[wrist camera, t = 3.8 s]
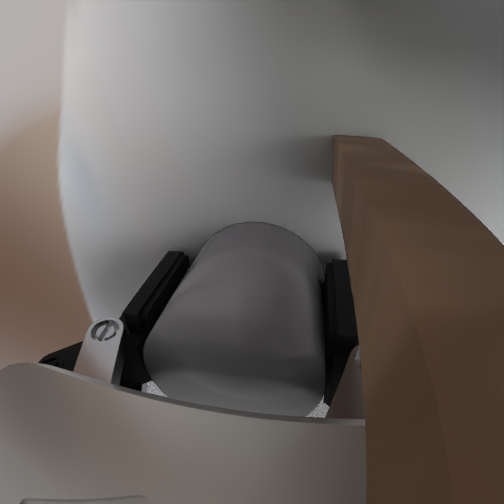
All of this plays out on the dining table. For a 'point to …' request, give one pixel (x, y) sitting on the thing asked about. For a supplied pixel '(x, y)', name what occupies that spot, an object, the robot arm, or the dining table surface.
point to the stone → (245, 325)
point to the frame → (423, 329)
